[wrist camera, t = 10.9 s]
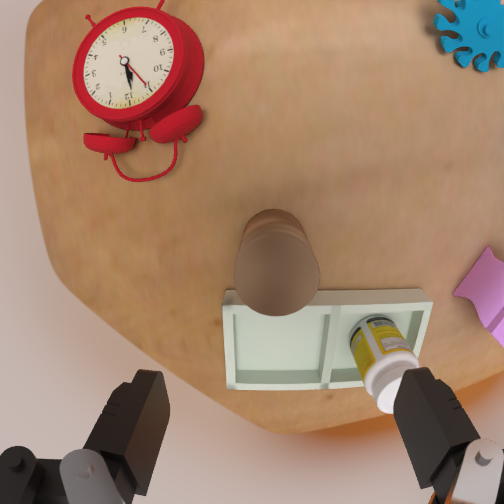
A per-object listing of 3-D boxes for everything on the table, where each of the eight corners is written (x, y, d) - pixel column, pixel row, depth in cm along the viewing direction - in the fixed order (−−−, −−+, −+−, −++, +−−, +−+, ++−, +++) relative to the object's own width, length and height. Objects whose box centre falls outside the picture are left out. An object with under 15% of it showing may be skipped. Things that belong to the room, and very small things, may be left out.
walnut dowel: (305, 209, 25) (322, 237, 18) (302, 268, 27) (316, 316, 19) (242, 209, 26) (232, 236, 18) (243, 268, 27) (234, 315, 20)
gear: (420, 45, 19) (470, -44, 10) (398, 18, 21) (437, -58, 13) (504, 95, 20) (553, 30, 12) (479, 63, 23) (520, 2, 14)
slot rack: (420, 288, 27) (433, 301, 24) (401, 364, 30) (410, 381, 27) (226, 289, 28) (222, 304, 25) (230, 370, 31) (227, 389, 28)
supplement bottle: (361, 363, 29) (384, 425, 21) (339, 333, 28) (360, 396, 20) (402, 337, 28) (436, 394, 20) (383, 304, 27) (419, 360, 19)
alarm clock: (187, -26, 16) (200, 156, 18) (203, 16, 23) (218, 171, 24) (66, 17, 17) (56, 188, 19) (99, 46, 23) (99, 193, 25)
